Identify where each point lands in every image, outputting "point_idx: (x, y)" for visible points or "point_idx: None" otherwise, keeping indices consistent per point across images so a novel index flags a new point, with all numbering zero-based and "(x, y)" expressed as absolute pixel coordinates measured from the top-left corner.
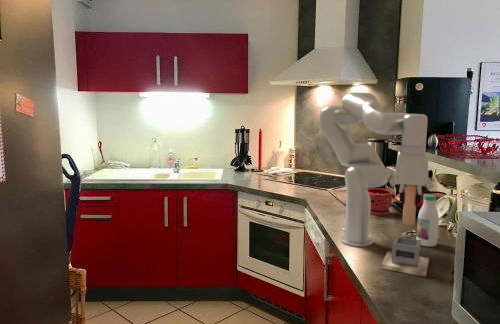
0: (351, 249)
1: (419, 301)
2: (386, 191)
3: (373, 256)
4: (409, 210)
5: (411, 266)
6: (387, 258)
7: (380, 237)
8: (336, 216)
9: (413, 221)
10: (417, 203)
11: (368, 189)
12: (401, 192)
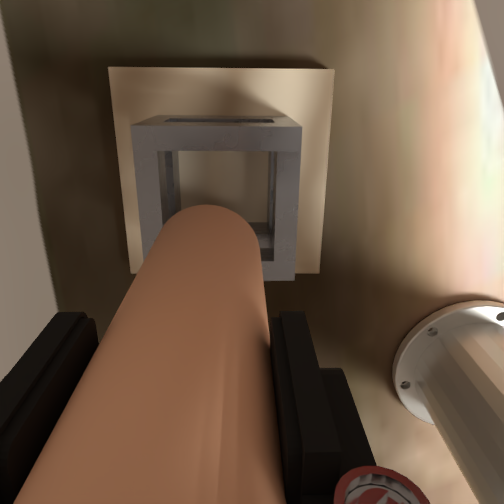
0: (484, 259)
1: None
2: None
3: (377, 218)
4: (182, 262)
5: (187, 115)
6: (312, 172)
7: None
8: None
9: (156, 239)
10: (47, 331)
11: None
12: (351, 475)
